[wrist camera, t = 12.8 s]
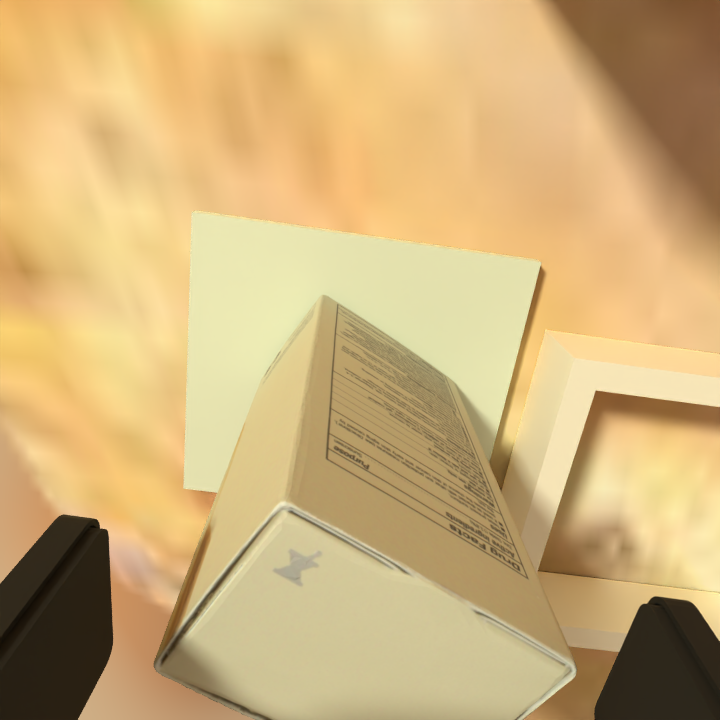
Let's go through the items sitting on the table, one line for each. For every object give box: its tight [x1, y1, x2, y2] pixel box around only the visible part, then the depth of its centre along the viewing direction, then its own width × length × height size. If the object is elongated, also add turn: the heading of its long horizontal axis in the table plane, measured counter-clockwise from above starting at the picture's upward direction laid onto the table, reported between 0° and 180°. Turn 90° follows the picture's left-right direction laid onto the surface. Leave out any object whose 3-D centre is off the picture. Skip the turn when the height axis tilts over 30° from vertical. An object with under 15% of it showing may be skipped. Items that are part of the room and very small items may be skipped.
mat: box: [184, 210, 541, 493], centre depth 21 cm, size 12×11×1 cm
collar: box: [501, 330, 720, 652], centre depth 21 cm, size 12×12×3 cm
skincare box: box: [154, 295, 577, 720], centre depth 15 cm, size 6×4×12 cm
